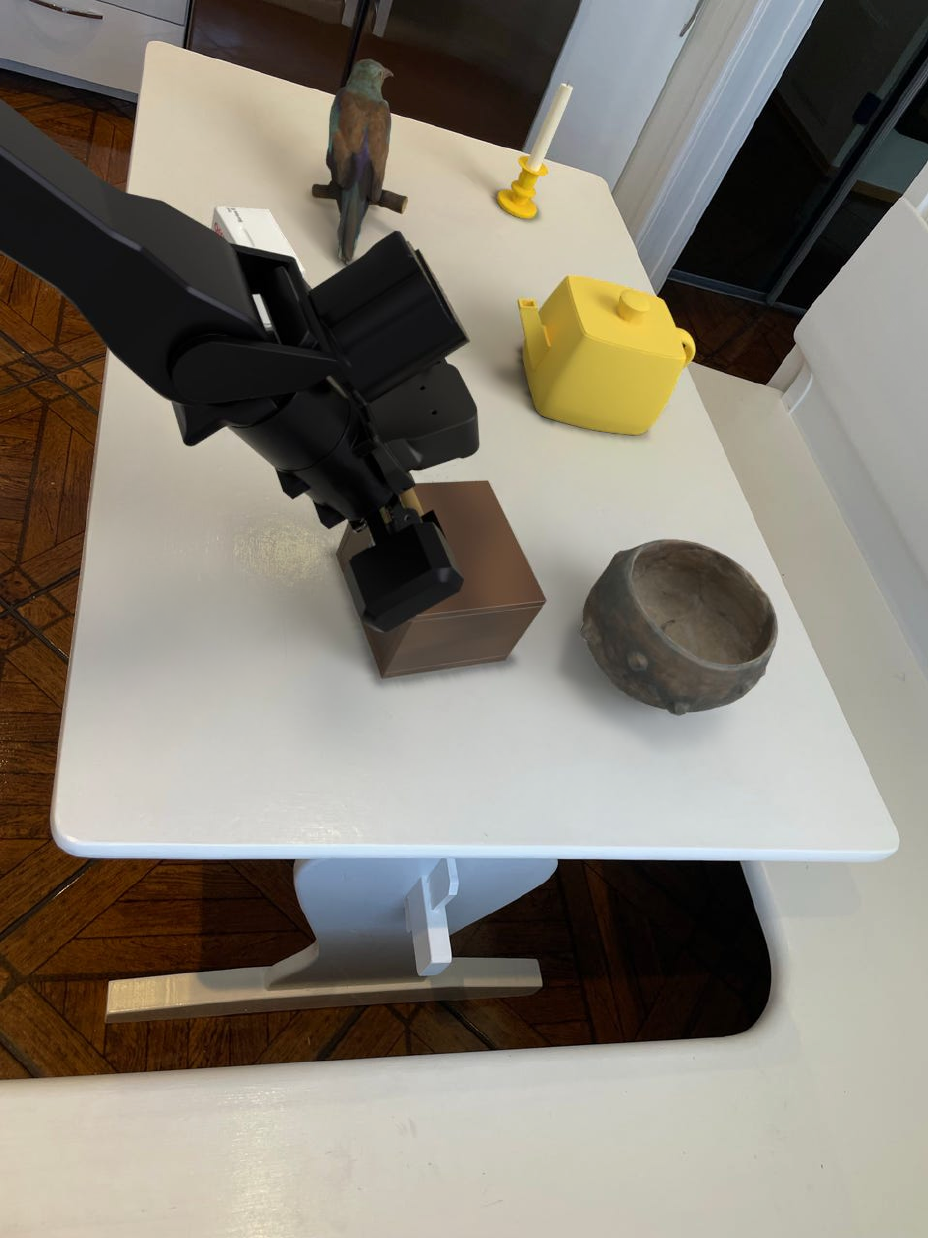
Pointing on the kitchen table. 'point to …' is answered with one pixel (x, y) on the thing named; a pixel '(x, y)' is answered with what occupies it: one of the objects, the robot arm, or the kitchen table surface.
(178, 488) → the kitchen table surface
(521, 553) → the lid
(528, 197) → the candle
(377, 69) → the bird figurine
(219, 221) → the ink box
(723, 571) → the bowl
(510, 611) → the chest
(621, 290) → the teapot
